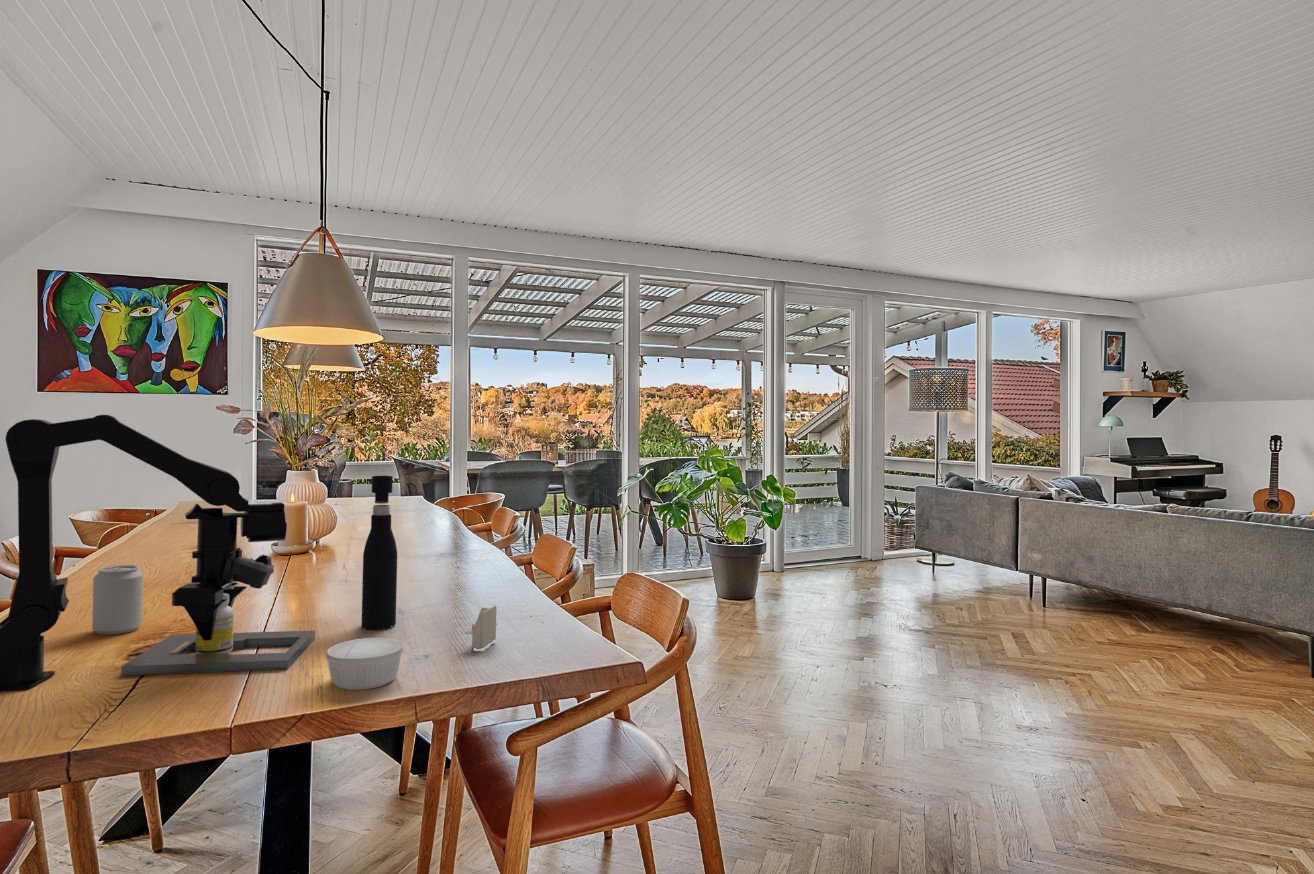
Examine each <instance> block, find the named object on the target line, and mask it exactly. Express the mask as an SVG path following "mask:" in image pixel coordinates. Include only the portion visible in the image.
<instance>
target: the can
mask: <svg viewBox="0 0 1314 874" xmlns="http://www.w3.org/2000/svg"><path fill="white" fill-rule="evenodd" d="M139 568H140V566H139V565H135V564H123V565H122V564H120V565H110V566H104V567H101V568H98V569H97V572H98V573H97V574H96V575H94V577H93V579H92V616H91V617H92V621H91V623H92V624H91V625H92V626H91V627H92V628H91V629H92V630H93V631H94V632H95V633H97V634H99V635H103V636H104V635H105V636H108V635H109V636H110V635H120V634H126V633H129V632H134V631H135V630H137V628H138V627H140V626H141V625H142V623H143V587H144V586H143V585H144V582H143V581H144V579H143V578H144V574H143V573H142V572H141V571H140V570H139Z"/></svg>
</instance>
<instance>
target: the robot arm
mask: <svg viewBox="0 0 1314 874" xmlns="http://www.w3.org/2000/svg"><path fill="white" fill-rule="evenodd" d="M94 441H102V442H105V443H106V444H109V445H111V446H113V447H115V448H116V449H119V450H120V451H122V452H124V453H126V454H128V455H130V456H132V457H134V458H136V459H138V460H140V461H142V462H143V463H145V464H147V465H149V466H151V467H153V468H156V470H159V471H161V472H163V473H165V474H167V475H168V476H171V477H173V478H175V480H177V481H178V482H180V483H181V484H182V485H184V486H185V487H186V488H187V489H189V490H190V491H191V492H192V493H194V494H195V495H197V496H198V497H199V498H200V499H202V500H203V501H204V502H206V503H207V504H209V505H211V506H214V507H204V508H203V507H202V506H200V504H199V503H195V504H194V506H193V507H192V508H191V509H189V511H187V512H186V513H184V516H185V519H187V520H197V539H196V540H197V544H196V545H197V546H196V550H195V551H193V552H191V555H192V556H191V559H196V574H195V575H193V576H191V581H190V583H186V584H184V585H182V586H180V587H178V588H177V589H176V590H174V591H173V593H171V606H172V607H183V608H184V609H185V611H186V612H187V614H188V616H189V617H190V618H191V621H192V622H193V624H194V625H195V629H196V628H197V629H198V631H199V633H200V635H201V637H202V638H203V640H211V639H212V634H213V630H214V625H215V619H216V614H217V609H218V608H219V607H220V606H221V605H222V604H223V603H225V602H226V601H227V599H222V597H223V593H226V594H229V603H228V606H230V607H232V608H233V607H234V606H233V604H234V603H235V600H236V598H238V596H239V595H241V594H242V592H244V591H245V590H246V589H247V586H249V587H251V588H253V589H258V590H259V589H262V588H263V587H264V586H266V585H268V582H269V580H270V577H271V575H272V574H274V571H275V569H274V567H275V566H274V564H273V563H272V557H271V556H270V555H268V554H264V553H263V554H261V555H259V556H258V557H257V558H255V559H254V558H253V557H251V558H248V557H244V556H243V549H241V547H237V543H238V542H237V538H238V537H237V536H238V534H237V533H238V519H239V518H240V537H241V538H245V537H246V539H247V542H248V543H261V542H265V543H266V542H280V541H281V542H282V541H285V540H286V538H287V531H288V530H287V529H288V528H287V527H288V524H287V521H286V513H285V504H284V503H283V502H282V501H281V502H279V501H278V502H271V503H256V504H255V503H253V504H252V503H251V504H249V500H248V499H247V498H245V497H243V496H242V495H241V493H240V489H241V487H240V482H239V480H238V479H237V478H236V477H235V476H234V475H232V473H230V472H228V471H226V470H223V469H221V468H218V467H214V466H213V465H209V464H206V463H203V462H200V461H198V460H193V459H191V458H188V457H186V456H185V455H182V454H181V453H179V452H177V451H175V450H173V449H172V448H169V447H167V446H166V445H164V444H162V443H160V442H158V441H156V440H154V439H152V438H151V437H149V436H147V435H145V434H144V433H143V434H142V433H141V432H139V431H137V429H136V430H135V429H134V428H131V427H130V426H128V425H126V424H125V423H122V422H121V421H120V420H118V419H117V418H116V417H114V416H112V415H109V414H100V415H96V416H93V417H87V418H81V419H73V420H68V421H60V422H54V423H53V422H51V421H47V420H45V419H40V418H37V419H36V418H35V419H34V418H32V419H23V420H21V421H18V422H16V423H14V424H13V425H12V426H11V427H10V428H9V429H8V430H7V432H6V434H5V443H6V448H7V452H8V457H9V460H10V463H11V466H12V469H13V471H14V475H15V477H16V480H17V513H18V515H17V516H18V518H17V520H18V521H17V523H18V525H17V526H18V527H17V529H18V577H17V579H16V584H15V587H14V590H13V593H12V599H11V601H10V605H9V606H10V608H9V612H8V615H7V617H5V618H4V619H3V620H1V621H0V691H4V690H6V691H7V690H25V689H27V690H28V689H31V688H33V687H34V686H37V685H38V684H39V683H42V682H44V681H46V680H47V679H49V678H51V677H53V676H54V675H55V674H56V671H55V670H48V671H47V670H46V671H44V668H45V666H44V663H45V635H42V634H43V633H46V632H48V631H49V630H51V629H52V628H53V627H54V626H55V625H56V624H57V622H58V620H59V618H60V616H61V614H62V612H65V611H66V608H67V607H68V604H69V602H70V600H69V598H68V596H67V593H66V591H67V586H68V581H69V578H68V577H62V578H57V575H56V573H55V569H54V565H53V564H54V563H53V562H54V561H53V493H52V492H53V490H52V489H53V485H52V484H53V483H52V482H53V481H52V480H53V476H54V475H53V474H54V473H55V472H54V471H55V468H56V464H57V462H58V461H57V460H58V456H59V453H60V452H59V451H60V448H61V447H65V446H70V445H77V444H81V443H82V444H83V443H89V442H94ZM215 506H216V507H215ZM221 506H226V507H228V508H230V509H232V510H234V511H235V512H224V510H223V507H221ZM239 583H242V584H244V585H245V586H243V585H241V586H240V585H239ZM246 585H247V586H246Z"/></svg>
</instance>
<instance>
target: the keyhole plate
mask: <svg viewBox="0 0 1314 874" xmlns="http://www.w3.org/2000/svg"><path fill="white" fill-rule="evenodd" d="M315 639H316V630H314V629H313V630H291V631H290V630H289V631H288V630H287V631H284V630H283V631H282V630H281V631H253V632H252V631H251V632H249V631H248V632H233V649H232V650H244V649H245V648H255V647H256V648H257V647H260V648H261V647H262V648H263V647H287V646H290V647H289V648H288V649H287V650H286V652H273V653H272V652H271V653H270V652H269V653H268V652H267V653H265V652H264V653H244V654H243V653H241V654H237V653H235V654H230V652H229V653H211V654H196V653H192V652H194V651H196V633H184V634H182V633H181V634H170V635H169V636H167V637H166V638H164V639H162V640H161V641H159V642H158V643H156V644H155V645H152V646H151V647H150V648H148V649H146V650H145V651H143V652H142V653H140V654H138V655H137V656H136V657H134V658H132V659H130V660H129V661H128V662H126V663H125V664H123V665H121V669H120V670H121V671H120V673H121V675H120V676H122V677H123V676H148V675H151V676H152V675H153V676H154V675H175V674H176V675H177V674H179V675H180V674H199V673H201V674H202V673H203V674H204V673H225V672H226V673H227V672H248V671H249V672H252V671H254V672H255V671H276V670H277V671H279V670H280V671H281V670H289V669H290V668H291V666H292V665H293V664H294V663H295V662H296V661H297V660H298V658H300V657H301V655H302V654H303V653H304V651H306V650H307V649H308V647H309V646H310V645H311V644H312V643H313V641H314V640H315ZM191 653H192V654H191Z"/></svg>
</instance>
